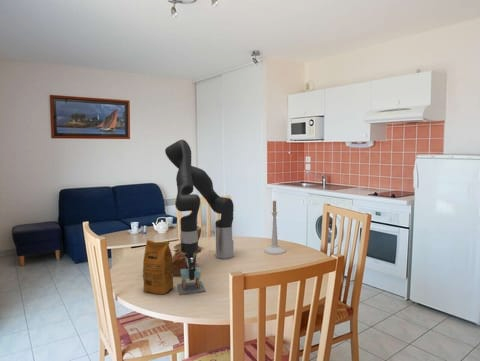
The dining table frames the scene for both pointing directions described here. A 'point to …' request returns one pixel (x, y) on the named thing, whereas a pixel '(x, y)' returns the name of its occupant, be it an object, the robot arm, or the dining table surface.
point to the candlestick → (274, 236)
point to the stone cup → (198, 240)
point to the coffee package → (157, 267)
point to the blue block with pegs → (186, 276)
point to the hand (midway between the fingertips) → (190, 276)
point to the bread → (180, 262)
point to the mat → (190, 288)
